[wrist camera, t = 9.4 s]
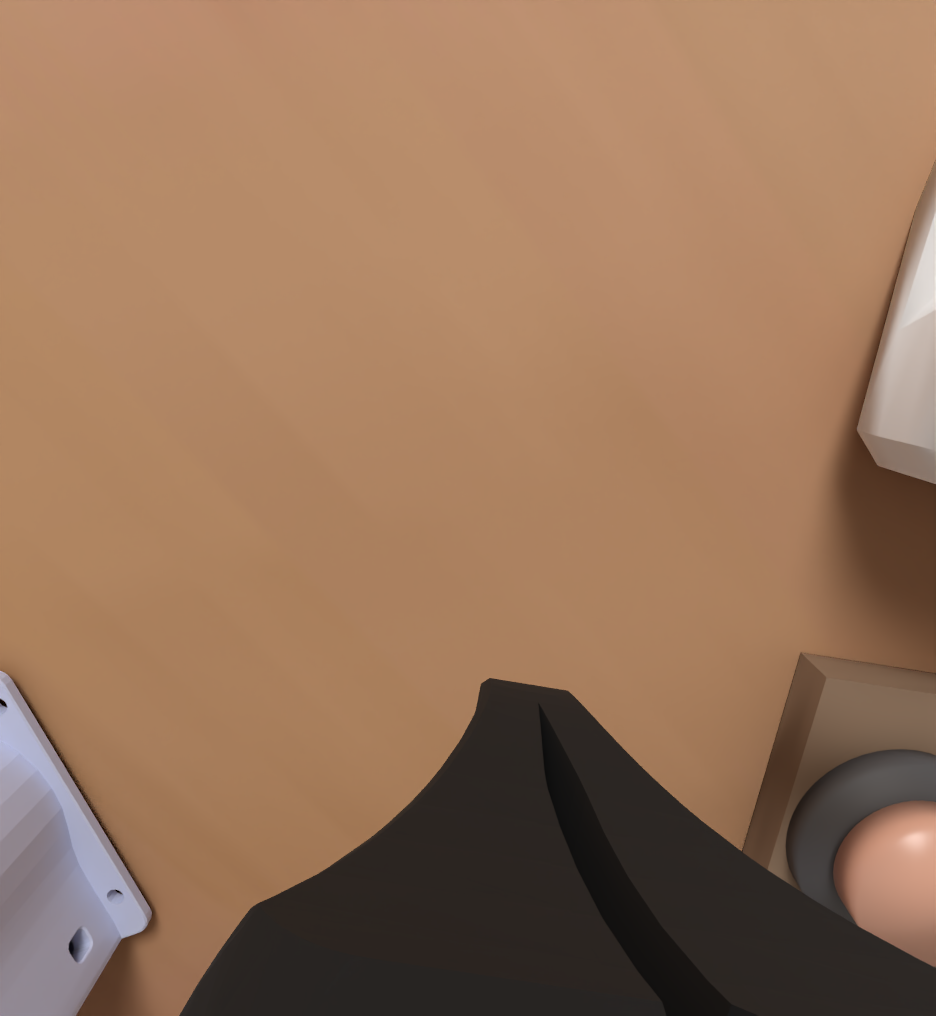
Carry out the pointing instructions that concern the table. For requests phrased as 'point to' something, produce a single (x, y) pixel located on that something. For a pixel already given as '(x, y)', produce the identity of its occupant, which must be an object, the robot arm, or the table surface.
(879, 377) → the white handled tablet device
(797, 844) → the button panel
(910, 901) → the terracotta button
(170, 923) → the table surface
